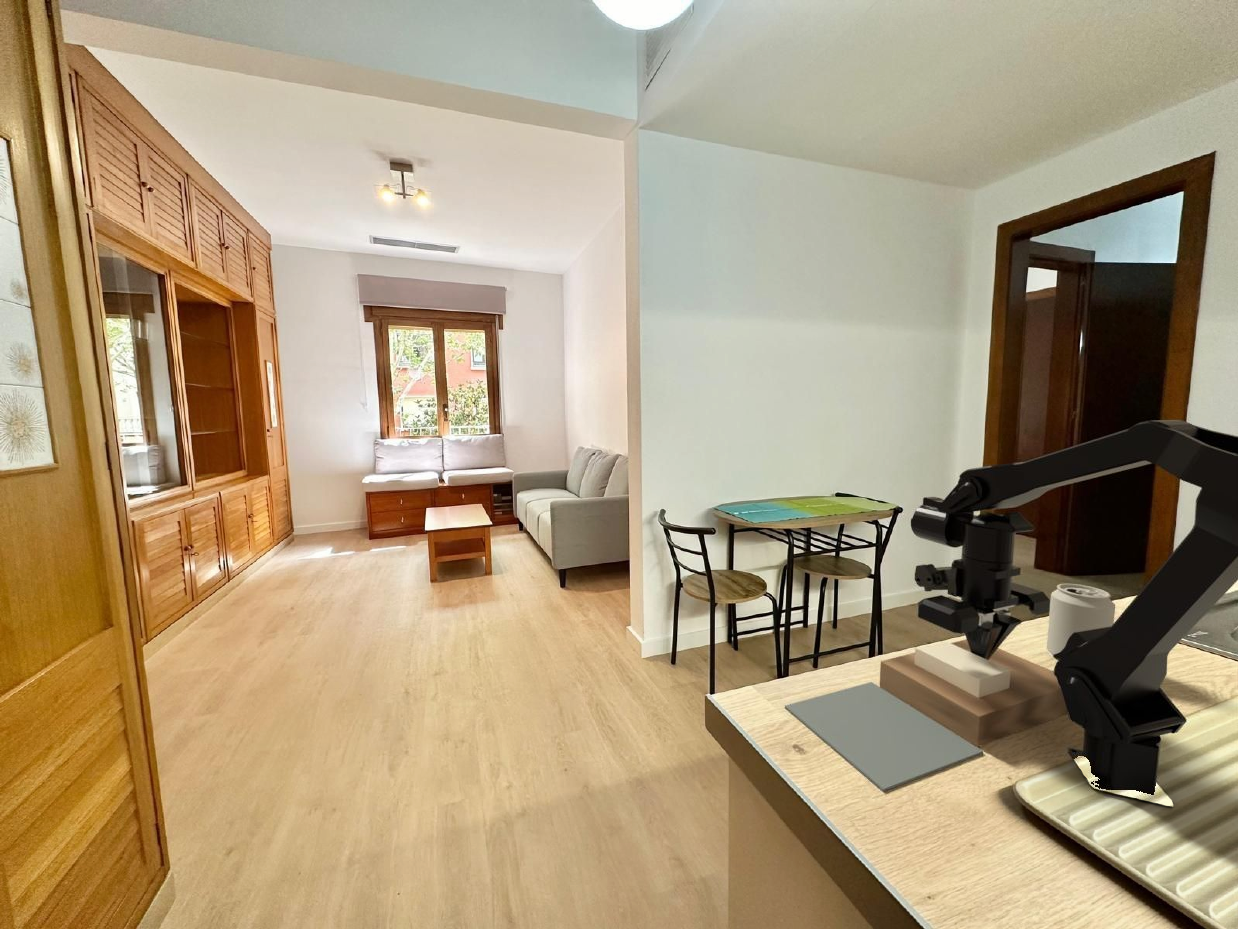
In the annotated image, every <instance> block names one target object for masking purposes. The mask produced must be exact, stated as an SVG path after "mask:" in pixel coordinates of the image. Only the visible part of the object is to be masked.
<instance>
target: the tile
mask: <svg viewBox="0 0 1238 929" xmlns="http://www.w3.org/2000/svg"><path fill="white" fill-rule="evenodd" d="M951 643H952V642H949V641H946V640H942V641H938V642H934V643H933V642H932V643H930V644H926V645H921V646H918V647H915V648H914V649H915V650H914V651H915V652H914V653H915V665H917V666H919V667H921V668H923V669H925V670H927V671H929V672H930V673H932V674H934V675H936V676H938V677H940V678H942V679H944V680H946V681H948V682H949V683H951V684H953V685H955V686H957V687H959V688H961V689H963V690H965V691H967V692H968V693H970V694H972V695H974V696H976V697H978V698H980V697H983V696H986V695H989V694H992V693H995V692H999V691H1002V690H1005V689H1008V688H1009V685H1010V672H1011V670H1009V669H1006V668H1004V667H1002V666H1000V665H998V664H995V663H993V662H991V661H989V660H986V659H984V658H982V657H980V656H978V655H975V654H973V653H971V652H969V651H966V650H964V649H962V648H960V647H957V646H955V645H953V644H951Z"/></svg>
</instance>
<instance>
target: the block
mask: <svg viewBox="0 0 1238 929" xmlns="http://www.w3.org/2000/svg"><path fill="white" fill-rule="evenodd" d="M950 643H951V644H953V645H955V646H957V647H960V648H962V649H964V650H966V651H969V652H971V650H970V647H969V644H968V641H967V639H963V640H958V641H954V642H950ZM989 661H991V662H993V663H995V664H998V665H1000V666H1002V667H1004V668H1006V669H1009V670H1011V672H1010V685H1009V688H1008V689H1005V690H1002V691H999V692H995V693H992V694H989V695H986V696H983V697H980V698H978V697H976V696H974V695H972V694H970V693H968V692H967V691H965V690H963V689H961V688H959V687H957V686H955V685H953V684H951V683H949V682H948V681H946V680H944V679H942V678H940V677H938V676H936V675H934V674H932V673H930V672H929V671H927V670H925V669H923V668H921V667H919V666H917V665H915V652H911V653H908V654H904V655H903V654H902V655H900V656H896V657H892V658H889V659H885V660H884V659H883V660H881V661H880V667H879V669H880V670H879V687H880V688H882V689H884V690H885V691H887V692H888V693H890V694H892V695H893V696H895V697H897V698H898V699H900V700H901V701H903V702H905V703H906V704H908V705H909V706H911V707H913V708H914V709H916V710H917V711H919V712H921V713H922V714H924V715H926V716H927V717H929V718H930V719H932V720H934V721H935V722H937V723H938V724H940V725H942V726H943V727H945V728H947V729H948V730H950V731H951V732H953V733H955V734H956V735H958V736H959V737H961V738H963V739H964V740H966V741H967V742H969V743H971V744H972V745H974V746H976V747H977V748H979V747H981V746H984V745H987V744H990V743H992V742H995V741H997V740H1000V739H1003V738H1006V737H1009V736H1011V735H1013V734H1016V733H1019V732H1021V731H1025V730H1027V729H1030V728H1033V727H1035V726H1037V725H1041V724H1043V723H1046V722H1049V721H1051V720H1054V719H1056V718H1059V717H1062V716H1065V715H1067V714H1068V711H1067V707H1066V704H1065V700H1064V697H1063V694H1062V690H1061V687H1060V685H1059V684H1058V680H1057V677H1056V676H1055V675H1054V670H1051V669H1049V668H1046V667H1044V666H1041V665H1039V664H1037V663H1035V662H1033V661H1030V660H1028V659H1025V658H1022V657H1020V656H1018V655H1015V654H1013V653H1010V652H1008V651H1006V650H1005V649H1001V648H999V647H998V649H997V650H996V651H995V652H994V654H993V655H992V656H991V657H990V659H989ZM1068 715H1069V714H1068Z"/></svg>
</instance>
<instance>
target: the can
mask: <svg viewBox="0 0 1238 929" xmlns="http://www.w3.org/2000/svg"><path fill="white" fill-rule="evenodd" d="M1048 614H1049V616H1048V626H1047V627H1048V628H1047V640H1046V649H1047V651H1048V653H1050V654H1051V655H1052V656H1053V655H1054V654H1057V653H1059V652H1061V651H1062V650H1063V649H1064V647H1065V646H1066V643H1067V641H1068V639H1069V637H1070V636H1071V635H1072V634H1073V633H1074V632H1079V631H1086V630H1092V629H1098V628H1104V627H1110V626H1112V625H1113V624H1114V623H1115V614H1116V604H1115V602H1114V601H1112V599H1111V594H1110V593H1109V592H1107V591H1105V590H1103V589H1100V588H1097V587H1093V586H1089V585H1084V584H1079V583H1078V584H1077V583H1060V584H1057V586H1056V589H1055V590H1054V591H1052V592H1051V594H1050V605H1049V613H1048ZM1057 660H1058V661H1059V660H1060V659H1057Z"/></svg>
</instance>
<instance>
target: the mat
mask: <svg viewBox="0 0 1238 929" xmlns="http://www.w3.org/2000/svg"><path fill="white" fill-rule="evenodd" d="M784 709H785V710H786V711H788V712H789V713H790V714H791V715H792V716H794V717H795V718H796V719H797V720H798V721H800V722H801V723H802V724H803V725H804V726H805V727H807V728H808V729H809V730H810V731H811V732H812V733H814V734H815V735H816V736H817V737H818V738H820V739H821V740H822V741H823V743H825V744H826V745H828V746H829V747H830V748H831V749H832V750H834V751H835V752H836V753H837V754H839V756H841V757H842V758H843V759H844V760H845V761H846V762H848V763H849V764H850V765H851V766H853V767H854V768H855V770H857V771H858V772H859V773H860V774H862V775H863V776H864V777H865V778H866V779H868V780H869V781H870V782H871V783H873V785H875V786H876V787H877V788H878V789H879V790H881V791H882V792H886V791H887V790H891V789H894V788H897V787H898V786H901V785H905V784H907V783H909V782H911V781H914V780H917V779H920V778H923V777H925V776H928V775H930V774H933V773H936V772H938V771H940V770H944V769H946V768H948V767H951V766H953V765H956V764H960V763H961V762H965V761H966V760H970V759H972V758H975V757H978V756H980V755H982V754H984V751H983V750H982V749H980V748H979V747H976V746H974V745H973V744H971V743H970V742H968V741H966V740H965V739H963V738H962V737H960V736H958V735H957V734H955V733H953V732H952V731H950V730H949V729H947V728H945V727H944V726H942V725H941V724H939V723H937V722H936V721H934V720H933V719H931V718H929V717H928V716H926V715H924V714H923V713H921V712H920V711H918V710H916V709H915V708H913V707H912V706H910V705H908V704H907V703H905V702H903V701H902V700H900V699H899V698H897V697H895V696H894V695H892V694H891V693H889V692H887V691H886V690H884V689H883V688H881V687H880V685H877V684H875V683H874V682H872V681H869V682H866V683H863V684H862V683H861V684H859V685H855V686H852V687H847V688H845V689H839V690H837V691H834V692H830V693H827V694H826V693H825V694H822V695H819V696H815V697H811V698H808V699H805V700H801V701H796V702H794V703H790V704H785V705H784Z"/></svg>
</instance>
